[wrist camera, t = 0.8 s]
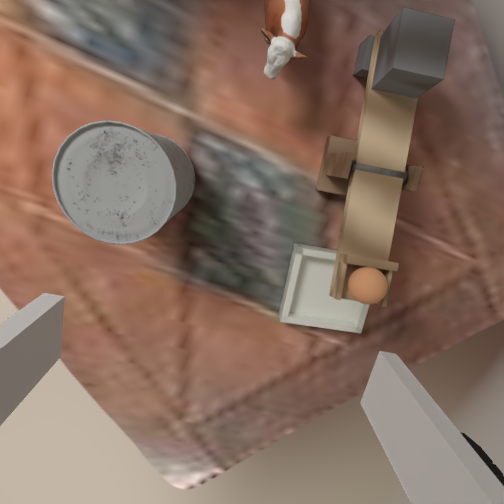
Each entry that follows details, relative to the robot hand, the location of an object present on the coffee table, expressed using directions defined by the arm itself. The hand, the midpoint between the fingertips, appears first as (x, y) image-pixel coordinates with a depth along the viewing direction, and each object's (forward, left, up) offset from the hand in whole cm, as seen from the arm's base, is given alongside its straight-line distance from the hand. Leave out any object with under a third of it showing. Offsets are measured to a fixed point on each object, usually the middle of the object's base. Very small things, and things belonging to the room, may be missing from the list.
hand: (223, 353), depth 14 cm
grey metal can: (-4, -10, -27) cm, 29 cm away
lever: (-9, +13, -21) cm, 26 cm away
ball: (+1, +13, -16) cm, 21 cm away
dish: (+6, +13, -27) cm, 30 cm away
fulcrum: (-9, +13, -27) cm, 31 cm away
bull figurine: (-22, +1, -27) cm, 35 cm away
